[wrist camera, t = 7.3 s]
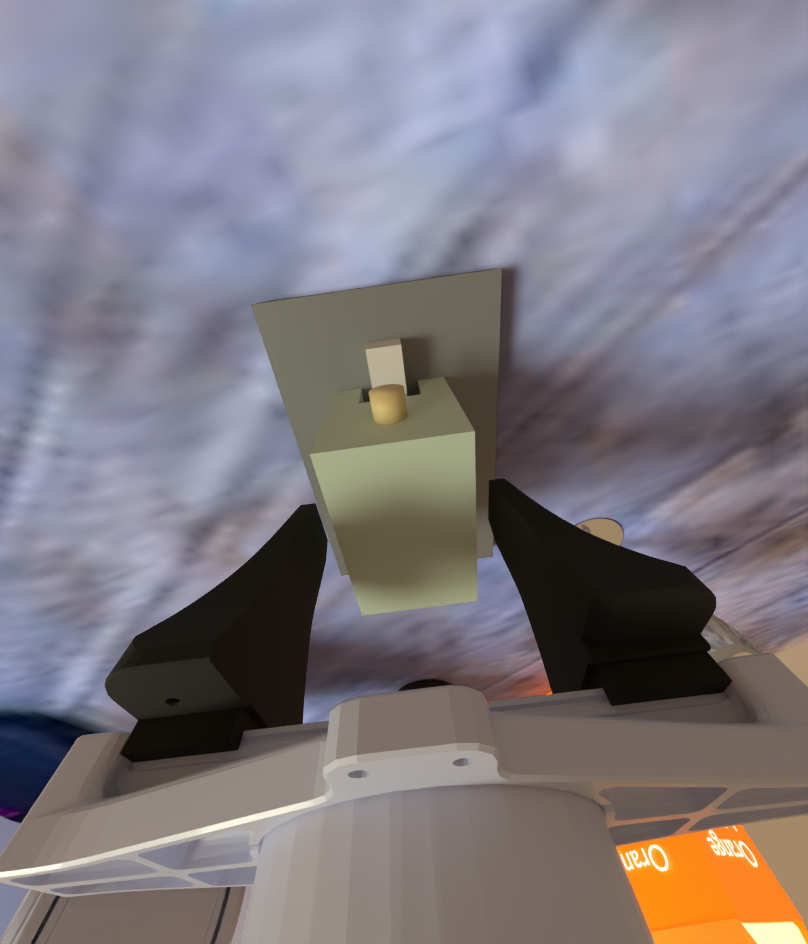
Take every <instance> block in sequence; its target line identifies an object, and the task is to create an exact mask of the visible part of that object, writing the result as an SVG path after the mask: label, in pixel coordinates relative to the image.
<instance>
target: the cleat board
mask: <svg viewBox="0 0 808 944" xmlns="http://www.w3.org/2000/svg"><path fill="white" fill-rule="evenodd" d="M501 281H502V268H500V269H490V270H483V271H476V272H469V273H462V274H455V275H448V276H441V277H434V278H427V279H421V280H414V281H407V282H400V283H393V284H386V285H379V286H372V287H365V288H358V289H351V290H345V291H338V292H331V293H324V294H317V295H310V296H303V297H296V298H289V299H282V300H275V301H269V302H262V303H256V304H252V305H251V306H252V309H253V312H254V315H255V318H256V321H257V324H258V327H259V330H260V333H261V336H262V339H263V342H264V345H265V348H266V351H267V354H268V357H269V360H270V363H271V366H272V369H273V372H274V375H275V378H276V381H277V384H278V387H279V390H280V393H281V396H282V399H283V402H284V405H285V408H286V411H287V414H288V417H289V420H290V423H291V426H292V429H293V432H294V435H295V438H296V441H297V444H298V447H299V450H300V453H301V456H302V459H303V462H304V465H305V468H306V471H307V474H308V477H309V480H310V483H311V486H312V489H313V492H314V495H315V498H316V501H317V504H318V507H319V510H320V513H321V516H322V519H323V522H324V525H325V528H326V531H327V534H328V537H329V540H330V543H331V546H332V549H333V552H334V555H335V558H336V561H337V564H338V567H339V570H340V573H341V576H342V575H349V574H348V571H347V567H346V564H345V561H344V558H343V555H342V552H341V549H340V546H339V543H338V540H337V537H336V534H335V531H334V528H333V524H332V521H331V518H330V515H329V512H328V509H327V506H326V503H325V500H324V497H323V494H322V491H321V488H320V485H319V482H318V478H317V475H316V472H315V469H314V466H313V463H312V460H311V457H310V452H311V450H312V447H313V445H314V443H315V440H316V438H317V436H318V433H319V431H320V428H321V426H322V424H323V421H324V419H325V416H326V414H327V412H328V409H329V407H330V404H331V402H332V400H333V397H334V395H335V392H341V391H348V390H354V389H362V394H363V399H364V402H370V398H369V391H370V390H371V389H373V388H375V387H378V386H381V385H387V384H399V385H402V386H404V392H405V397H406V396H413V395H419V390H418V381H417V380H423V379H430V378H437V377H444V378H445V380H446V382H447V383H448V385H449V387H450V389H451V390H452V392H453V394H454V396H455V397H456V399H457V401H458V403H459V404H460V406H461V408H462V410H463V411H464V413H465V415H466V416H467V418H468V420H469V422H470V423H471V425H472V427H473V429H474V430H475V470H476V537H477V558H485V557H493V533H492V530H491V527H490V523H489V520H488V498H489V480H495V469H496V438H497V406H498V375H499V344H500V312H501Z"/></svg>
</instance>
